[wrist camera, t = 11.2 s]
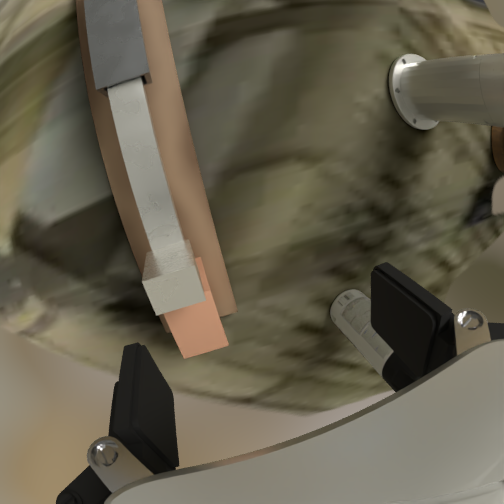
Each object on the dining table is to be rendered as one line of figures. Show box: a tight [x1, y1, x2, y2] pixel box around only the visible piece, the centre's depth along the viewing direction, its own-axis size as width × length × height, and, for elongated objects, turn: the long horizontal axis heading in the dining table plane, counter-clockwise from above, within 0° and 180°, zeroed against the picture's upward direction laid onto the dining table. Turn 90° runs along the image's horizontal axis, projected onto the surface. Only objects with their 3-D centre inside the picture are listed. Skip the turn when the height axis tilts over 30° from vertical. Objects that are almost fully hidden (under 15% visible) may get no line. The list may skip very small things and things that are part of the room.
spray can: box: [330, 289, 421, 392], centre depth 37 cm, size 7×7×20 cm
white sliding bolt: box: [107, 76, 206, 316], centre depth 23 cm, size 4×27×9 cm, turn 12°
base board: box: [76, 0, 238, 333], centre depth 29 cm, size 10×48×2 cm, turn 12°
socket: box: [163, 257, 229, 359], centre depth 32 cm, size 5×7×8 cm
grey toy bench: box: [84, 0, 153, 98], centre depth 19 cm, size 5×18×8 cm, turn 12°
